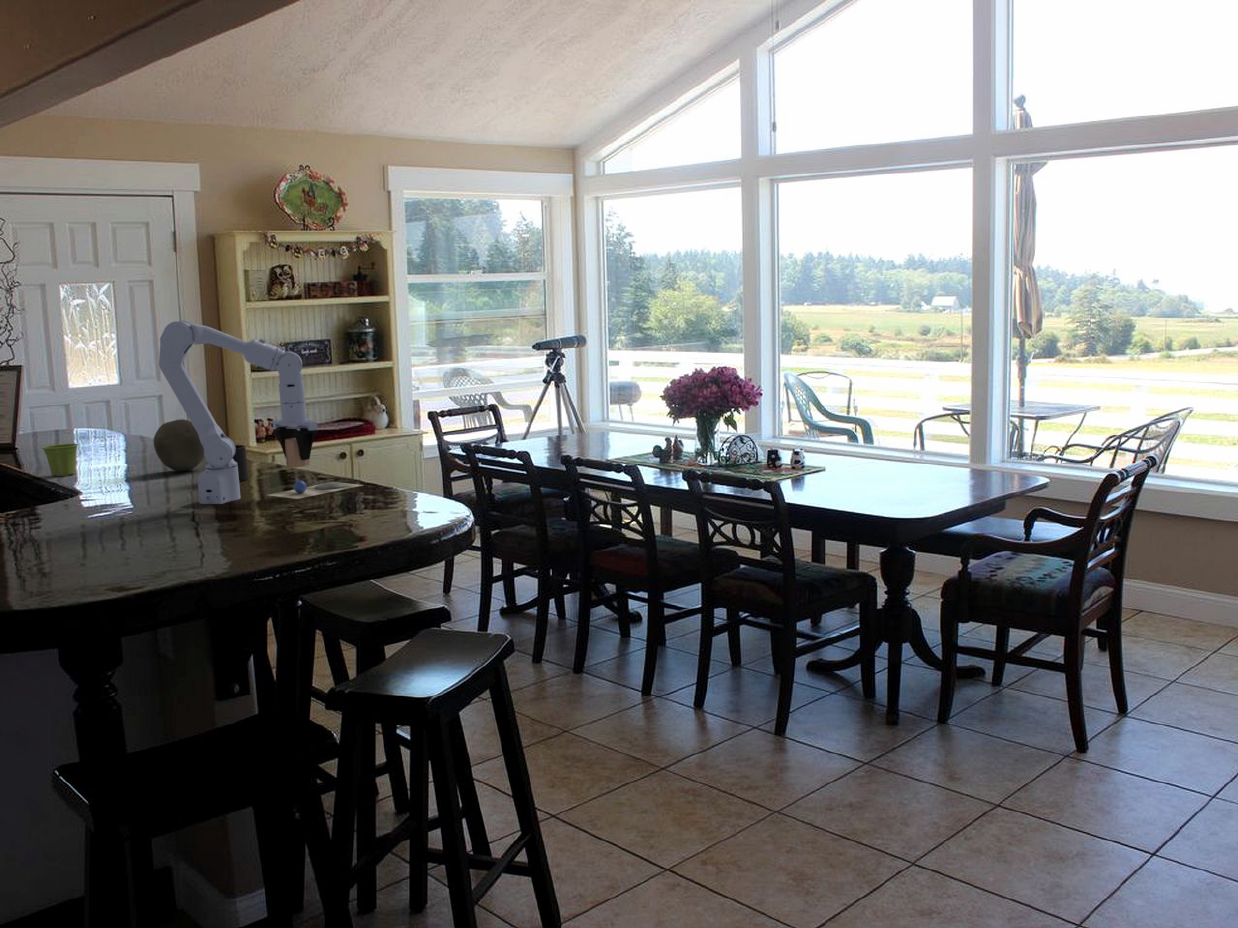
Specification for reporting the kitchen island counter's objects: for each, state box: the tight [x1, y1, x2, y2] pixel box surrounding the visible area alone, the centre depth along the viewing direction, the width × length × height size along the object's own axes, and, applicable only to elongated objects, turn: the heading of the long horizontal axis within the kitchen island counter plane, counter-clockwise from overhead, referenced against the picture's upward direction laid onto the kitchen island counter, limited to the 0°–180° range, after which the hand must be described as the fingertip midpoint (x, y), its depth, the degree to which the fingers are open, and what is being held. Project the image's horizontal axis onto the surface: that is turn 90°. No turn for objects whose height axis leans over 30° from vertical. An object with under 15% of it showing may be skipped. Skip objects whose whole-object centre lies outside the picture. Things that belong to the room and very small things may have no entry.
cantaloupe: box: [153, 418, 205, 472], centre depth 334 cm, size 14×14×15 cm
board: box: [267, 481, 364, 500], centre depth 285 cm, size 20×12×1 cm, turn 142°
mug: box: [232, 444, 249, 483], centre depth 314 cm, size 9×12×9 cm
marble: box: [293, 480, 308, 493], centre depth 282 cm, size 3×3×3 cm
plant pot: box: [41, 443, 79, 477], centre depth 339 cm, size 9×9×9 cm
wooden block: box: [285, 438, 310, 468], centre depth 280 cm, size 5×5×6 cm
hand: (297, 458), depth 281 cm, fingers closed on wooden block, 5 cm apart
